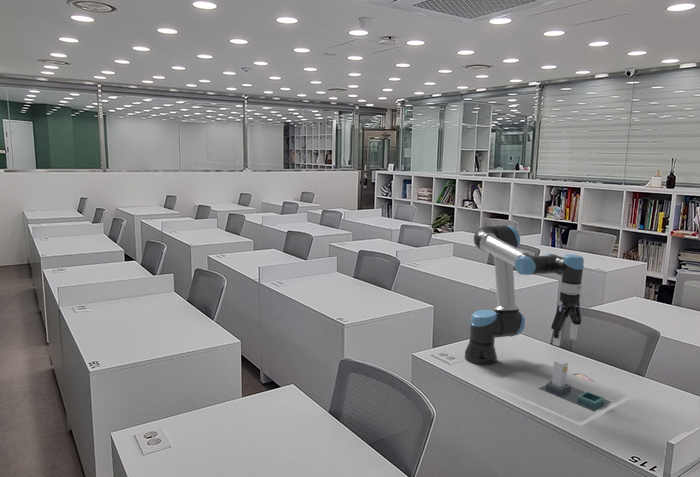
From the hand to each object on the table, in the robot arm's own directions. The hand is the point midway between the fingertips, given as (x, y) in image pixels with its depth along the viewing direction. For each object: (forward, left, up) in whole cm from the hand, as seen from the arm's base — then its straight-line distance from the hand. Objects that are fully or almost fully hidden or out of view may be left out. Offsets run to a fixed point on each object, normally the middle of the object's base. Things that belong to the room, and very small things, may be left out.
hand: (564, 342), depth 215 cm
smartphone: (+2, +18, -22) cm, 29 cm away
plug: (0, -1, -21) cm, 21 cm away
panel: (+7, -1, -22) cm, 23 cm away
